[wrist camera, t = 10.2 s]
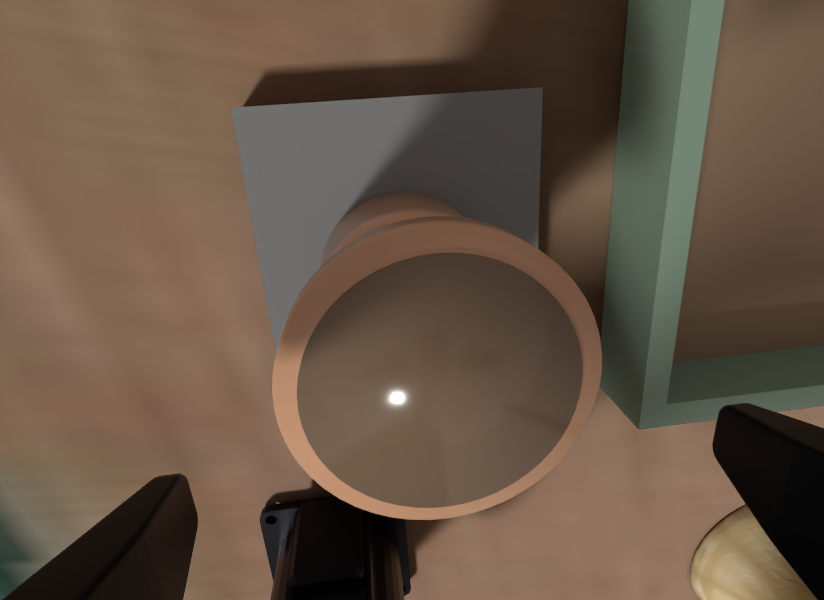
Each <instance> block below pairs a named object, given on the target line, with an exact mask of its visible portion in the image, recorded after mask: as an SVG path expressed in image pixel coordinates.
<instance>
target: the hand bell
mask: <svg viewBox="0 0 824 600" xmlns="http://www.w3.org/2000/svg"><path fill="white" fill-rule="evenodd" d="M690 573H691V575H690V578H691V583H692V586H693V589H694V591H695V593H696V594H697V595H698V597H699V598H700V599H701V600H817V599H816V598H815V597H814V595H813V594H812V593H811V592H810V590H809V589H808V588H807V587H806V585H805V584H804V583H803V581H802V580H801V579H800V578H799V576H798V575H797V574H796V573H795V571H794V570H793V569H792V568H791V566H790V565H789V564H788V563H787V561H786V560H785V559H784V558H783V556H782V555H781V554H780V552H779V551H778V550H777V548H776V547H775V546H774V544H773V543H772V542H771V541H770V539H769V538H768V536H767V535H766V533H765V532H764V530H763V529H762V528H761V526H760V525H759V523H758V522H757V520H756V519H755V517H754V516H753V514H752V513H751V511H750V510H749V508H748V507H747V506H744V507H742V508H740V509H738V510H737V511H735V512H733V513H732V514H730V515H729V516H727V517H726V518H725V519H723V520H722V521H721V522H720V523H718V524H717V525H716V526H715V527H714V528H713V529H712V530H711V531H710V532H709V533H708V534H707V535H706V537H705V538H704V539H703V541H702V542H701V543H700V545H699V547H698V549H697V550H696V552H695V554H694V557H693V559H692V564H691V571H690Z"/></svg>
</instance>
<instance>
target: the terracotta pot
mask: <svg viewBox="0 0 824 600" xmlns="http://www.w3.org/2000/svg"><path fill="white" fill-rule="evenodd" d="M601 373H602V349H601V342H600V334H599V331H598V327H597V324H596V320H595V317H594V314H593V312H592V310H591V308H590V306H589V304H588V301H587V299H586V298H585V296H584V295H583V293H582V292H581V290H580V289H579V287H578V286H577V284H576V283H575V281H574V280H573V279H572V278H571V277H570V276H569V275H568V274H567V273H566V272H565V271H564V269H563V268H562V267H561V266H559V265H558V264H557V263H556V262H554V261H553V260H552V259H551V258H549V257H548V256H547V255H546V254H544V253H543V252H541V251H540V250H539V249H537V248H536V247H534V246H533V245H532V244H530V243H529V242H527V241H526V240H524V239H522V238H521V237H519V236H517V235H516V234H514V233H512V232H510V231H508V230H505V229H503V228H501V227H498V226H496V225H493V224H490V223H486V222H482V221H478V220H474V219H470V218H466V217H465V216H464V215H463V214H462V213H461V212H460V211H458V210H457V209H456V208H454V207H453V206H452V205H450V204H449V203H447V202H445V201H443V200H442V199H439V198H437V197H434V196H432V195H428V194H424V193H420V192H411V191H398V192H391V193H386V194H382V195H379V196H375V197H373V198H371V199H369V200H366V201H364V202H363V203H361V204H359V205H358V206H356V207H355V208H353V209H352V210H351V211H350V212H348V213H347V214H346V215H345V216H344V217H343V218H342V219H341V220H340V221H339V223H338V224H337V225H336V227H335V228H334V230H333V231H332V233H331V235H330V236H329V238H328V240H327V242H326V245H325V248H324V251H323V255H322V260H321V264H320V268H319V269H318V270H317V271H316V272H315V273H314V274H313V275H312V276H311V278H310V279H309V281H308V282H307V283H306V285H305V286H304V287H303V289H302V290H301V292H300V293H299V295H298V297H297V299H296V301H295V302H294V304H293V306H292V308H291V310H290V312H289V315H288V318H287V321H286V324H285V326H284V329H283V332H282V336H281V339H280V342H279V345H278V348H277V352H276V357H275V362H274V368H273V380H272V395H273V404H274V411H275V415H276V418H277V422H278V426H279V429H280V431H281V434H282V436H283V438H284V440H285V443H286V445H287V447H288V448H289V450H290V451H291V453H292V455H293V456H294V458H295V459H296V461H297V462H298V463H299V465H300V466H301V467H302V468H303V469H304V470H305V471H306V473H307V474H308V475H309V476H310V477H311V478H312V479H313V480H315V481H316V482H317V483H318V484H319V485H320V486H321V487H323V488H324V489H325V490H327V491H328V492H330V493H331V494H333V495H334V496H336V497H337V498H339V499H341V500H343V501H345V502H347V503H349V504H351V505H353V506H355V507H358V508H360V509H363V510H366V511H369V512H372V513H375V514H379V515H383V516H388V517H392V518H401V519H409V520H434V519H445V518H452V517H458V516H463V515H468V514H471V513H475V512H478V511H481V510H485V509H487V508H490V507H492V506H495V505H497V504H500V503H502V502H504V501H506V500H508V499H510V498H512V497H514V496H516V495H517V494H519V493H521V492H523V491H524V490H526V489H527V488H529V487H530V486H532V485H533V484H535V483H536V482H537V481H539V480H540V479H541V478H542V477H543V476H545V475H546V474H547V473H548V472H549V471H551V470H552V469H553V468H554V467H555V466H556V465H557V463H558V462H559V461H560V460H561V459H562V458H563V457H564V456H565V455H566V454H567V452H568V451H569V450H570V448H571V447H572V446H573V445H574V443H575V442H576V441H577V439H578V437H579V436H580V434H581V432H582V431H583V429H584V427H585V426H586V424H587V421H588V419H589V417H590V415H591V412H592V410H593V408H594V404H595V401H596V398H597V394H598V391H599V386H600V379H601Z"/></svg>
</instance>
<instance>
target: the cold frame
mask: <svg viewBox="0 0 824 600" xmlns="http://www.w3.org/2000/svg"><path fill="white" fill-rule="evenodd" d="M600 342H601V349H602V373H601V379H600V387H601V389H602V390H603V391H604V392H605V393H606V394H607V395H608V396H609V397H610V398H611V400H612V401H613V402H614V403H615V404H616V405H617V406H618V407H619V408H620V409H621V411H622V412H623V413H624V414H625V415H626V416H627V417H628V418H629V419H630V420H631V422H632V423H633V424H634V425H635V426H636V427H637V428H638V429H646V428H654V427H662V426H670V425H678V424H685V423H693V422H701V421H709V420H717V418H718V413H719V411H720V409H721V408H722V407H723V406H725V405H731V404H739V403H750V404H753V405H756V406H759V407H762V408H765V409H768V410H771V411H774V412H779V411H787V410H795V409H803V408H810V407H818V406H824V0H629V1H628V13H627V25H626V37H625V49H624V61H623V73H622V85H621V97H620V110H619V122H618V134H617V146H616V158H615V170H614V182H613V194H612V206H611V218H610V230H609V242H608V254H607V266H606V278H605V290H604V302H603V315H602V327H601V339H600Z"/></svg>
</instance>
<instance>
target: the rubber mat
mask: <svg viewBox="0 0 824 600" xmlns="http://www.w3.org/2000/svg"><path fill="white" fill-rule="evenodd" d="M542 103H543V87H537V88H522V89H507V90H492V91H477V92H461V93H446V94H431V95H416V96H401V97H386V98H370V99H355V100H340V101H325V102H310V103H295V104H279V105H264V106H249V107H234V108H231V111H232V117H233V122H234V127H235V133H236V138H237V144H238V149H239V155H240V160H241V166H242V171H243V176H244V182H245V187H246V193H247V198H248V204H249V209H250V214H251V220H252V225H253V231H254V236H255V242H256V247H257V253H258V258H259V263H260V269H261V274H262V280H263V285H264V291H265V296H266V302H267V307H268V312H269V318H270V323H271V329H272V334H273V340H274V345H275V351H276V352H277V348H278V345H279V342H280V339H281V336H282V332H283V329H284V326H285V324H286V321H287V318H288V315H289V312H290V310H291V308H292V306H293V304H294V302H295V301H296V299H297V297H298V295H299V293H300V292H301V290H302V289H303V287H304V286H305V285H306V283H307V282H308V281H309V279H310V278H311V276H312V275H313V274H314V273H315V272H316V271H317V270H318V269H319V268H320V264H321V260H322V255H323V251H324V248H325V245H326V242H327V240H328V238H329V236H330V235H331V233H332V231H333V230H334V228H335V227H336V225H337V224H338V223H339V221H340V220H341V219H342V218H343V217H344V216H345V215H346V214H347V213H348V212H350V211H351V210H352V209H353V208H355V207H356V206H358V205H359V204H361V203H363V202H364V201H366V200H369V199H371V198H373V197H375V196H379V195H382V194H386V193H391V192H398V191H411V192H420V193H424V194H428V195H432V196H434V197H437V198H439V199H442V200H443V201H445V202H447V203H449V204H450V205H452V206H453V207H454V208H456V209H457V210H458V211H460V212H461V213H462V214H463V215H464V216H465V217H466V218H470V219H474V220H478V221H482V222H486V223H490V224H493V225H496V226H498V227H501V228H503V229H505V230H508V231H510V232H512V233H514V234H516V235H517V236H519V237H521V238H522V239H524V240H526V241H527V242H529V243H530V244H532V245H533V246H534V247H536V248H537V249H538V237H539V204H540V170H541V137H542Z"/></svg>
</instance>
